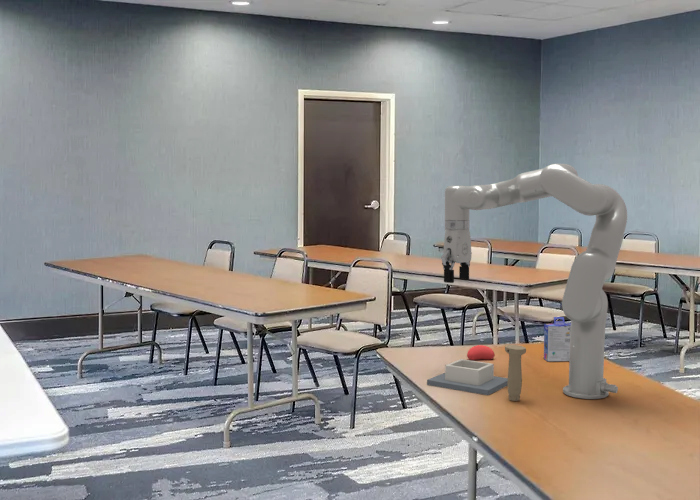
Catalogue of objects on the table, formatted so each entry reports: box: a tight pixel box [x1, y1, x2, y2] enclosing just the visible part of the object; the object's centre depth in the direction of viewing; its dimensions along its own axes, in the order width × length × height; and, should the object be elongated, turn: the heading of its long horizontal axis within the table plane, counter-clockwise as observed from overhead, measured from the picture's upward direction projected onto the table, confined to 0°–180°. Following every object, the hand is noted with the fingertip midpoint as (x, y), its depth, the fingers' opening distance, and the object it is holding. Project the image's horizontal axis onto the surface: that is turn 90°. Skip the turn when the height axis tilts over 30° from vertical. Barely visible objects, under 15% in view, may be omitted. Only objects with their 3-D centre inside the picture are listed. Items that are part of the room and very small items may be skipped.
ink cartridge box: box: [543, 316, 571, 362], centre depth 277 cm, size 10×6×14 cm, turn 94°
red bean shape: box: [466, 344, 495, 361], centre depth 278 cm, size 5×9×6 cm
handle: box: [504, 344, 527, 402], centre depth 227 cm, size 5×6×15 cm
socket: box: [426, 358, 508, 396], centre depth 245 cm, size 20×16×6 cm
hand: (456, 280), depth 253 cm, fingers open, 9 cm apart
